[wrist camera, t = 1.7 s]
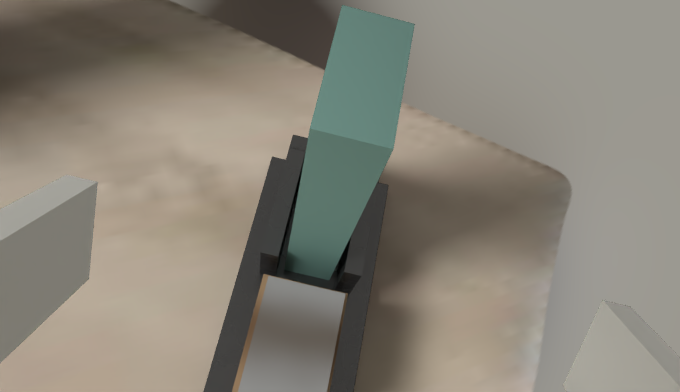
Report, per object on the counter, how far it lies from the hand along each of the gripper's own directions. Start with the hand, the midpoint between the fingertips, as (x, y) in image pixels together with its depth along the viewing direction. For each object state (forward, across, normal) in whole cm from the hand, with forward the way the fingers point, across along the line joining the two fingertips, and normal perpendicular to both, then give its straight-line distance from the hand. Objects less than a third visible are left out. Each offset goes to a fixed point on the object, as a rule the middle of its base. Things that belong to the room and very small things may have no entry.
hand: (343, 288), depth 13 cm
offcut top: (+17, 0, -14) cm, 22 cm away
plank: (+26, 0, -10) cm, 27 cm away
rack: (+23, -1, -14) cm, 27 cm away
